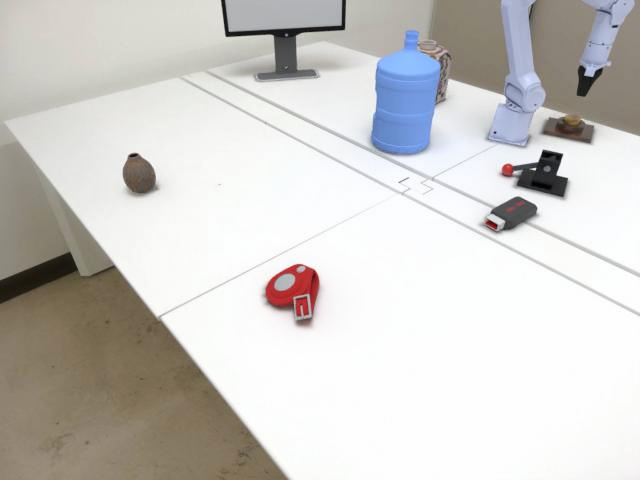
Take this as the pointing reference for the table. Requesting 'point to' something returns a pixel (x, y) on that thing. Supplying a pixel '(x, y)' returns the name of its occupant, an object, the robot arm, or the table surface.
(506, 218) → the usb drive
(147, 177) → the vase
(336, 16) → the computer monitor
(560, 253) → the table surface
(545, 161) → the bracket
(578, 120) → the button
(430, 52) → the decorative jar
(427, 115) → the water jug
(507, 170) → the lever
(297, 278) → the tracker holder
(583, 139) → the button block
